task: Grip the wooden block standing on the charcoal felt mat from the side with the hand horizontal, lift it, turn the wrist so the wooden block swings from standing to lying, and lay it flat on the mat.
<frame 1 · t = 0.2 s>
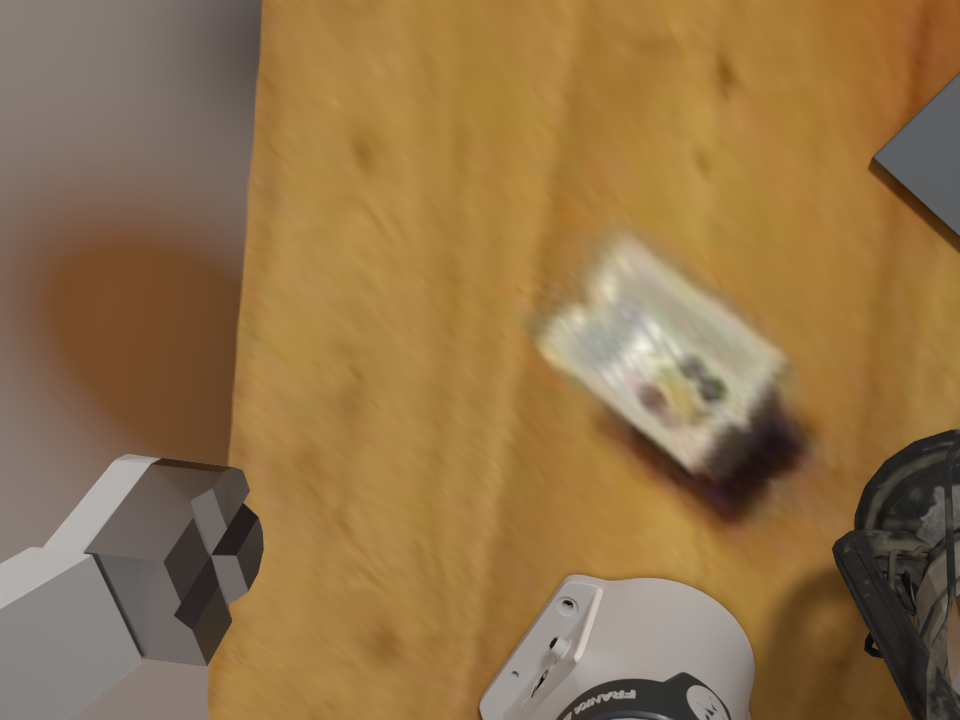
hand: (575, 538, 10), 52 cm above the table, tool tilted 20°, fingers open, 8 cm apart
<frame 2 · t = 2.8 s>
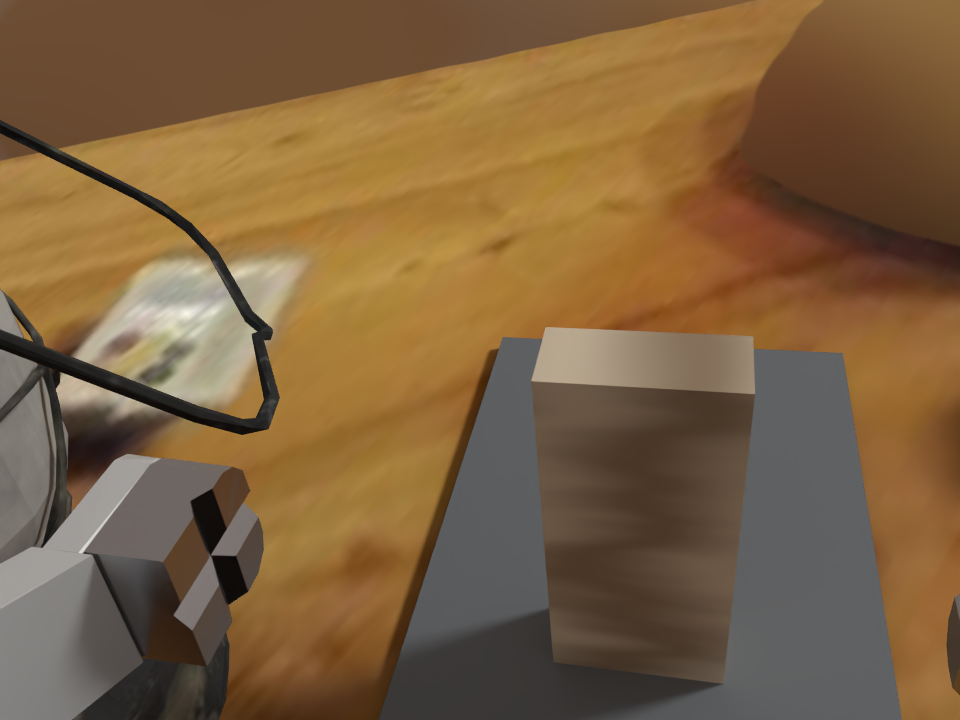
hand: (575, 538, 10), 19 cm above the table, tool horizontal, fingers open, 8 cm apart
wooden block: (639, 642, 31), point 1 cm above the table, touching mat
lantern: (89, 686, 33), on the table
mat: (650, 522, 36), on the table
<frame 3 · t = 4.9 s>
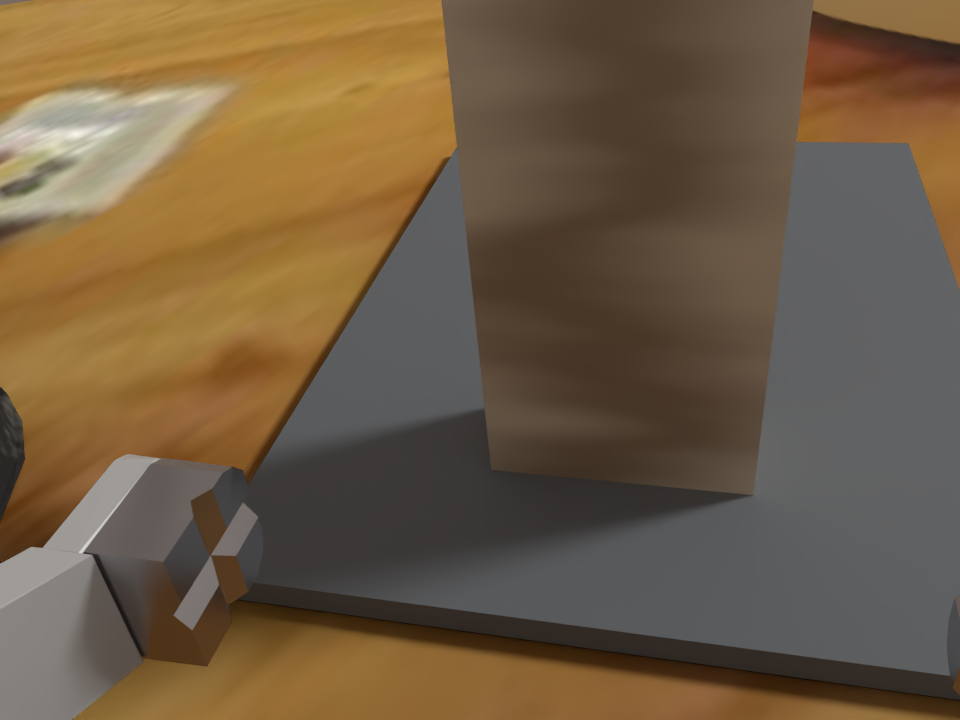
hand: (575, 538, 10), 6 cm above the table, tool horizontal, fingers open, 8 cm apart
wooden block: (623, 444, 20), point 1 cm above the table, touching mat
mat: (646, 319, 25), on the table
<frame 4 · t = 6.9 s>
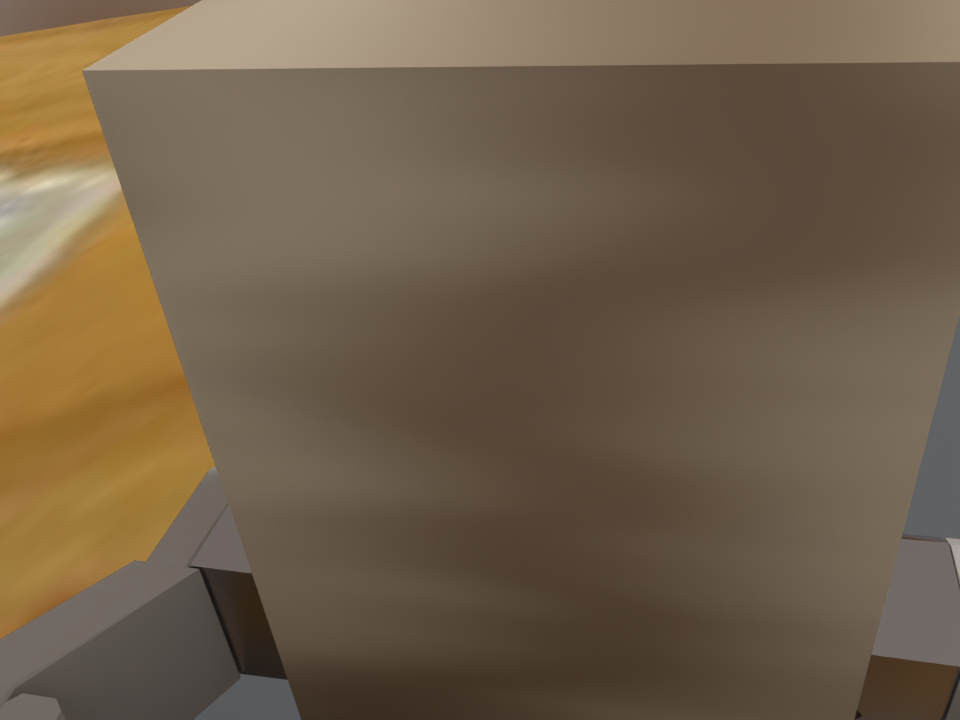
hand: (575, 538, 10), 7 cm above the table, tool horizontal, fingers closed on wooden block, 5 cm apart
mat: (620, 579, 18), on the table
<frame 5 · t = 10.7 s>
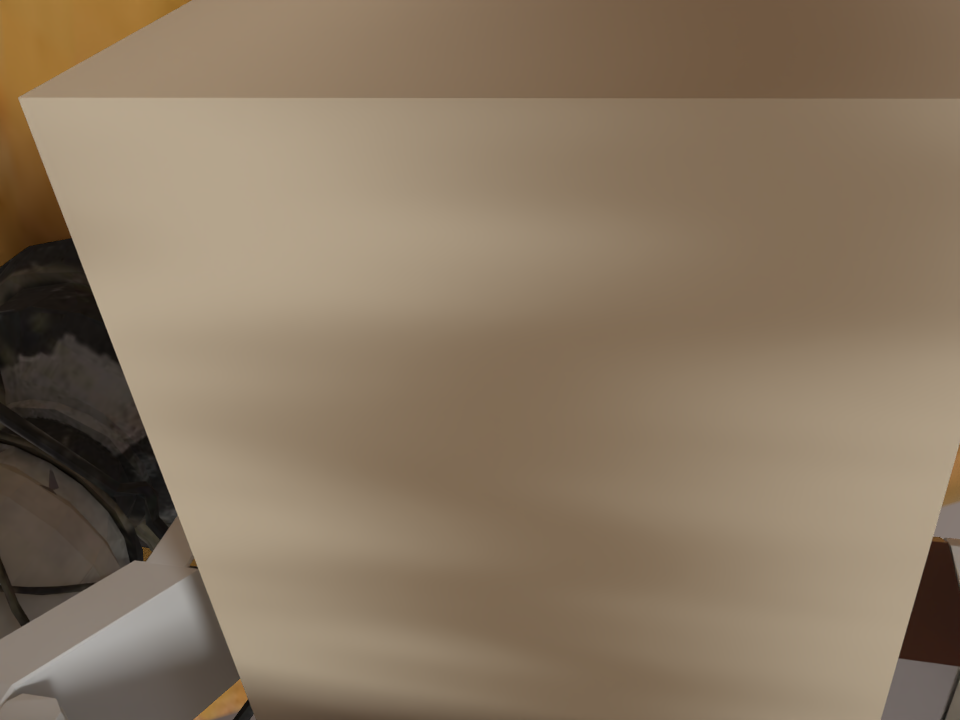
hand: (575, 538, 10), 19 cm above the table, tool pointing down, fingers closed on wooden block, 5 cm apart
lantern: (169, 361, 38), on the table
when the fingers open (2 cm above the table, at t = 14.3 s): wooden block drops 2 cm, resting on mat.
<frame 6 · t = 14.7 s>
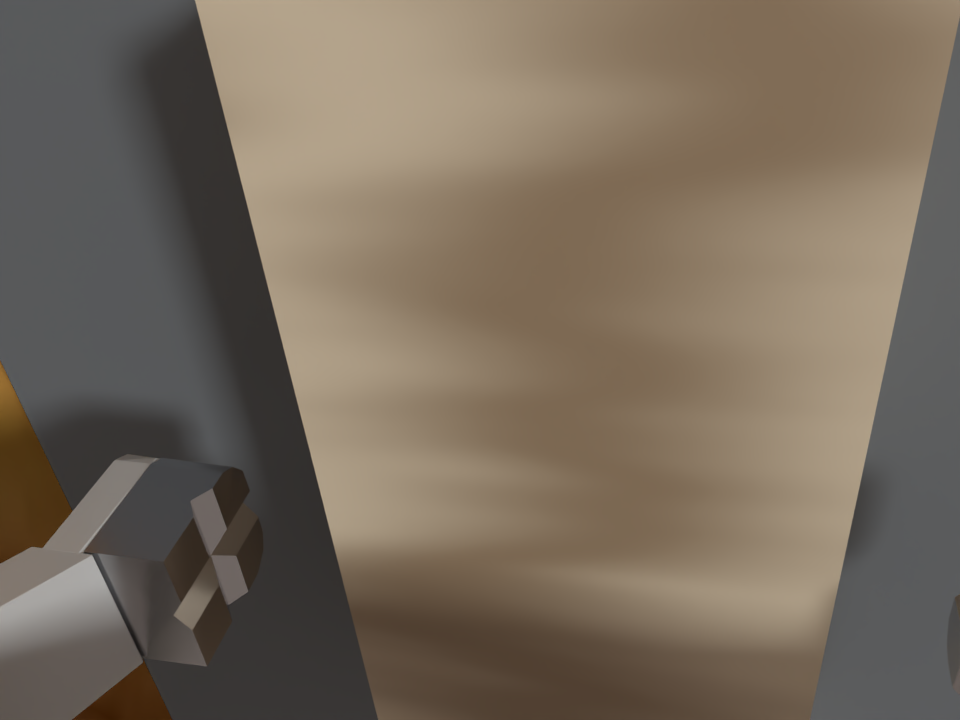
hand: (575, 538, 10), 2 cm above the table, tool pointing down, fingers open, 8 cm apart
mat: (542, 548, 14), on the table
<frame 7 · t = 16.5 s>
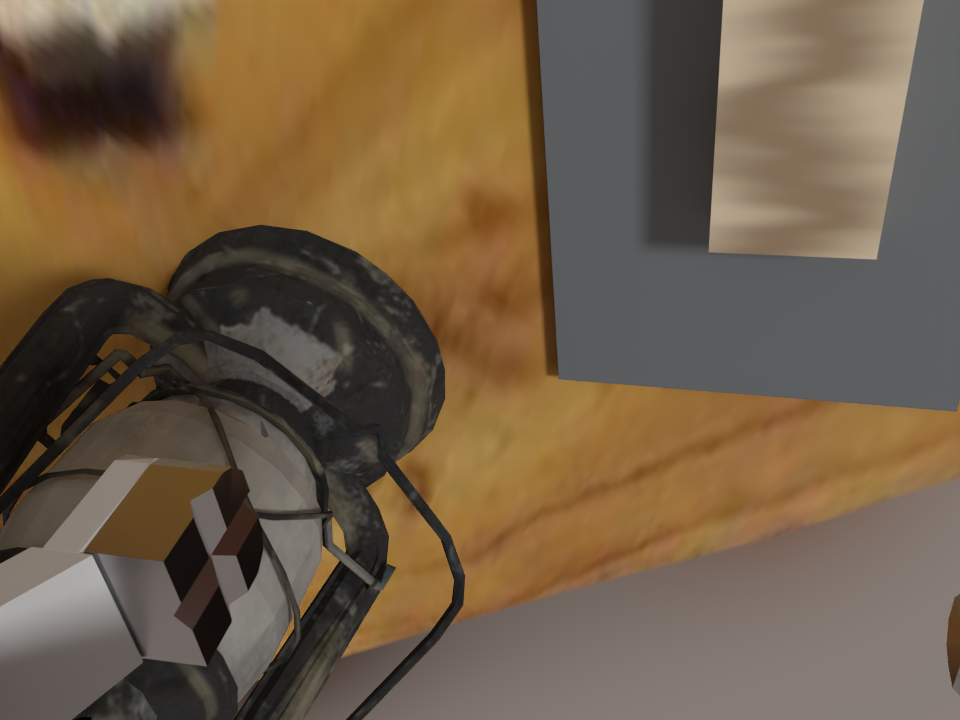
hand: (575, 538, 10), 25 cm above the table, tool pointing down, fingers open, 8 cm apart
wooden block: (790, 238, 32), point 2 cm above the table, tilted 90°, touching mat
lantern: (332, 333, 43), on the table
mat: (770, 140, 32), on the table
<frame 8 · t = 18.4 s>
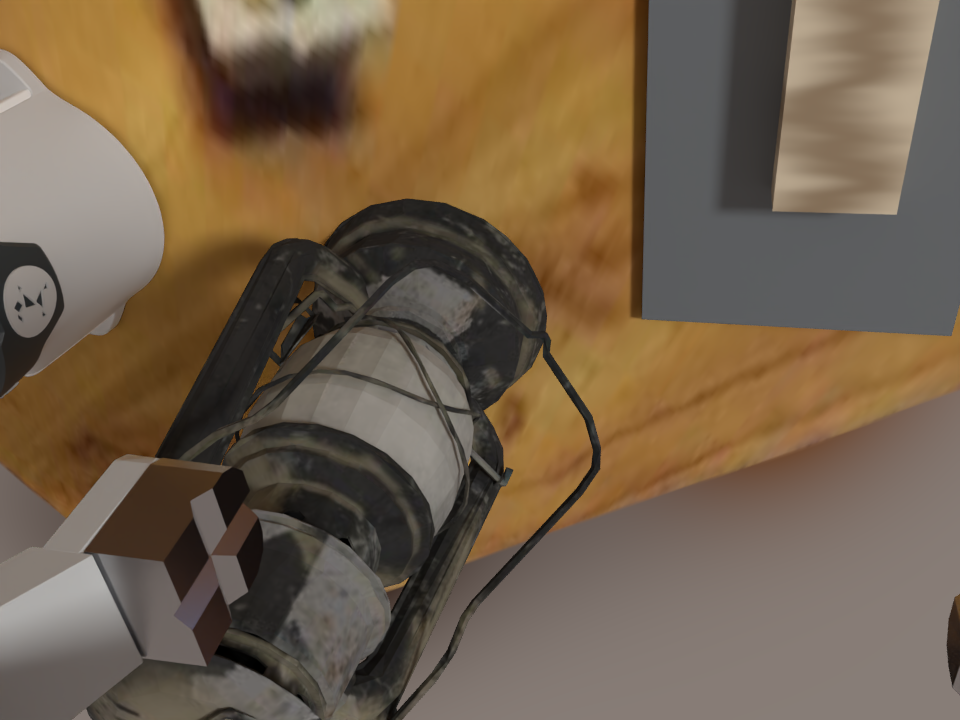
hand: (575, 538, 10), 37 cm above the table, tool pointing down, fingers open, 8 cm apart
wooden block: (831, 201, 44), point 2 cm above the table, tilted 90°, touching mat
lantern: (455, 287, 54), on the table
mat: (816, 129, 44), on the table
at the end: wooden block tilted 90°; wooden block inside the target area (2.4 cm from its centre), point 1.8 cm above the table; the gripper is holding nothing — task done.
